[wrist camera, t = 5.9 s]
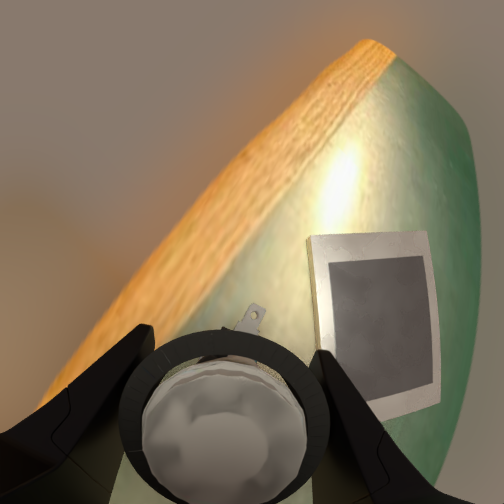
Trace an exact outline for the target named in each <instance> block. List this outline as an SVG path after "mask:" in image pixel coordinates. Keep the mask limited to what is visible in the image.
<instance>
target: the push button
mask: <svg viewBox="0 0 504 504" xmlns="http://www.w3.org/2000/svg"><path fill="white" fill-rule="evenodd" d="M252 312H256V314H257V318H256V319H252V318H251V313H252ZM265 312H266V309H265V308H263V307H261V306H259V305H257V304H255V303H253V304H251V305H250V306H249V308H248V310H247V311H246V313H245V315H244V317H243V319H242V321H241V322H240V321H238V323H237V325H236V327H235V328H234V330H230V329H227V328H225V327H222V328H221V330H208V331H201V332H196V333H192V334H188V335H185V336H182V337H179V338H177V339H174V340H172V341H170V342H168V343H166V344H164V345H162V346H161V347H159V348H158V349H156V350H155V351H153V352H152V353H151V354H150V355H148V356H147V357H146V358H145V359H144V360H143V361H142V362H141V363H140V364H139V365H138V367H137V368H136V369H135V370H134V372H133V373H132V375H131V376H130V378H129V380H128V381H127V383H126V385H125V388H124V390H123V393H122V396H121V400H120V404H119V412H118V426H119V433H120V438H121V442H122V445H123V448H124V450H125V453H126V455H127V457H128V459H129V461H130V463H131V464H132V466H133V467H134V469H135V470H136V472H137V473H138V474H139V475H140V476H141V478H142V479H143V480H144V481H145V482H146V483H147V484H148V485H149V486H150V487H152V488H153V489H154V490H155V491H157V492H158V493H159V494H161V495H162V496H164V497H165V498H167V499H169V500H171V501H173V502H175V503H177V504H276V503H278V502H280V501H282V500H284V499H286V498H287V497H289V496H290V495H292V494H293V493H294V492H296V491H297V490H298V489H299V488H300V487H302V486H303V485H304V484H305V483H306V482H307V480H308V479H309V478H310V477H311V476H312V474H313V473H314V472H315V470H316V469H317V467H318V466H319V464H320V462H321V460H322V458H323V456H324V453H325V450H326V447H327V444H328V439H329V434H330V414H329V408H328V404H327V400H326V397H325V394H324V392H323V390H322V387H321V385H320V384H319V382H318V380H317V379H316V377H315V376H314V374H313V373H312V372H311V370H310V369H309V368H308V367H307V366H306V365H305V364H304V363H303V362H302V361H301V360H300V359H299V358H298V357H297V356H295V355H294V354H293V353H292V352H290V351H289V350H287V349H286V348H284V347H282V346H281V345H279V344H277V343H275V342H273V341H271V340H268V339H266V338H263V337H261V336H258V333H259V331H258V330H257V328H258V326H259V324H260V322H261V320H262V318H263V316H264V314H265ZM203 356H204V357H203ZM198 357H200V358H199V360H198V362H197V363H196V364H194V365H191V366H189V367H187V368H184V369H182V370H180V371H179V372H177V373H176V374H174V375H173V376H171V377H170V378H168V379H167V380H166V381H164V382H163V383H161V384H160V382H161V380H162V379H163V377H164V376H165V374H166V373H167V372H168V371H169V370H171V369H172V368H174V367H175V366H177V365H179V364H181V363H183V362H186V361H188V360H191V359H194V358H198ZM257 361H258V362H260V363H262V364H265V365H267V366H268V367H270V368H272V369H273V370H275V371H276V372H278V373H279V374H280V375H281V376H282V378H283V379H284V380H285V382H286V384H287V385H288V387H289V388H288V387H287V386H286V385H285V384H284V383H282V382H281V381H279V380H277V379H276V378H274V377H273V376H271V375H270V374H268V373H267V372H265V371H263V370H262V369H260V367H259V366H258V365H257V364H256V362H257ZM159 384H160V385H159Z"/></svg>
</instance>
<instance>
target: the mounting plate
mask: <svg viewBox="0 0 504 504" xmlns="http://www.w3.org/2000/svg"><path fill="white" fill-rule="evenodd" d="M306 242H307V251H308V260H309V269H310V279H311V289H312V300H313V311H314V323H315V336H316V350H318V349H323V350H329V351H330V352H331V353H332V354H333V356H334V357H335V359H336V360H337V361H338V363H339V364H340V366H341V367H342V368H343V370H344V371H345V373H346V374H347V376H348V377H349V378H350V380H351V381H352V383H353V384H354V386H355V387H356V388H357V390H358V391H359V393H360V394H361V396H362V397H363V398H364V400H365V401H366V403H367V404H368V406H369V407H370V408H371V410H372V411H373V413H374V414H375V416H376V417H377V418H378V420H379V421H380V422H382V421H385V420H389V419H392V418H395V417H399V416H402V415H405V414H408V413H411V412H414V411H417V410H420V409H423V408H426V407H429V406H431V405H434V404H437V403H439V402H440V393H441V355H440V332H439V318H438V306H437V297H436V288H435V280H434V272H433V266H432V259H431V253H430V247H429V242H428V236H427V231H403V232H377V233H352V234H329V235H310V236H309V237H308V238H307V240H306Z"/></svg>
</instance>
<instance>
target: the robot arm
mask: <svg viewBox="0 0 504 504" xmlns="http://www.w3.org/2000/svg"><path fill="white" fill-rule="evenodd" d="M154 349H155V338H154V329H153V326H151V325H147V324H139V325H138V326H136V327H135V328H134V329H133V330H132V331H131V332H129V333H128V334H127V335H126V336H125V337H124V338H122V339H121V340H120V341H119V342H118V343H117V344H115V345H114V346H113V347H112V348H111V349H110V350H108V351H107V352H106V353H105V354H104V355H103V356H101V357H100V358H99V359H98V360H97V361H96V362H94V363H93V364H92V365H91V366H90V367H89V368H88V369H86V370H85V371H84V372H83V373H82V374H81V375H79V376H78V377H77V378H76V379H75V380H74V381H73V382H71V383H70V384H69V385H68V388H67V387H66V388H64V389H63V390H62V391H61V392H60V393H59V394H58V395H56V396H55V397H54V398H53V399H51V400H50V401H49V402H48V403H47V404H45V405H44V406H42V407H41V408H40V409H38V410H37V411H36V412H34V413H33V414H31V415H30V416H29V417H27V418H25V419H24V420H22V421H21V422H20V423H18V424H17V425H15V426H14V427H12V428H11V429H9V430H7V431H5V432H3V433H0V504H109V501H110V497H111V494H110V493H112V490H113V487H114V483H115V480H116V477H117V473H118V470H119V467H120V464H121V460H122V457H123V454H124V451H125V450H124V448H123V445H122V442H121V438H120V433H119V426H118V412H119V404H120V400H121V396H122V393H123V390H124V388H125V385H126V383H127V381H128V380H129V378H130V376H131V375H132V373H133V372H134V370H135V369H136V368H137V367H138V365H139V364H140V363H141V362H142V361H143V360H144V359H145V358H146V357H147V356H148V355H150V354H151V353H152V352H153V351H154ZM309 369H310V370H311V372H312V373H313V374H314V376H315V377H316V379H317V380H318V382H319V384H320V385H321V387H322V390H323V392H324V394H325V397H326V400H327V404H328V408H329V414H330V434H329V439H328V444H327V447H326V450H325V453H324V456H323V458H322V460H321V462H320V464H319V466H318V467H317V469H316V470H315V472H314V473H313V474H312V492H313V504H474V503H471V502H468V501H464V500H461V499H458V498H456V497H453V496H450V495H447V494H444V493H442V492H440V491H438V490H437V489H435V488H434V487H433V486H432V485H431V484H430V483H429V482H428V481H427V480H426V479H425V478H424V477H423V476H422V474H421V473H420V472H419V471H418V470H417V469H416V468H415V467H414V466H413V464H412V463H411V462H410V461H409V460H408V459H407V458H406V456H405V455H404V454H403V453H402V452H401V450H400V449H399V448H398V446H397V445H396V444H395V442H394V441H393V440H392V438H391V437H390V435H389V434H388V433H387V431H386V430H385V428H384V427H383V426H382V424H381V423H380V421H379V420H378V418H377V417H376V416H375V414H374V413H373V411H372V410H371V408H370V407H369V406H368V404H367V403H366V401H365V400H364V398H363V397H362V396H361V394H360V393H359V391H358V390H357V388H356V387H355V386H354V384H353V383H352V381H351V380H350V378H349V377H348V376H347V374H346V373H345V371H344V370H343V368H342V367H341V366H340V364H339V363H338V361H337V360H336V359H335V357H334V356H333V354H332V353H331V352H330V351H329V350H323V349H318V350H316V352H315V354H314V356H313V358H312V360H311V363H310V365H309ZM384 430H385V431H384ZM503 504H504V503H503Z"/></svg>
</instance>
